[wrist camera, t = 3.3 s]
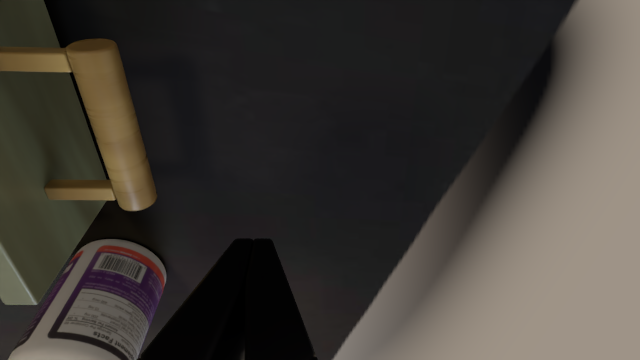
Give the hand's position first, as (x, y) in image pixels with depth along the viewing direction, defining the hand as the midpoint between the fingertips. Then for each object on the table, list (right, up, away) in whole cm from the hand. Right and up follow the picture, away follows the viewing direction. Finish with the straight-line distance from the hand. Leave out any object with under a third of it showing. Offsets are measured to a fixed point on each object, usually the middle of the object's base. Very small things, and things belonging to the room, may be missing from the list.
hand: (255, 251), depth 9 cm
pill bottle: (-11, -4, +15) cm, 19 cm away
